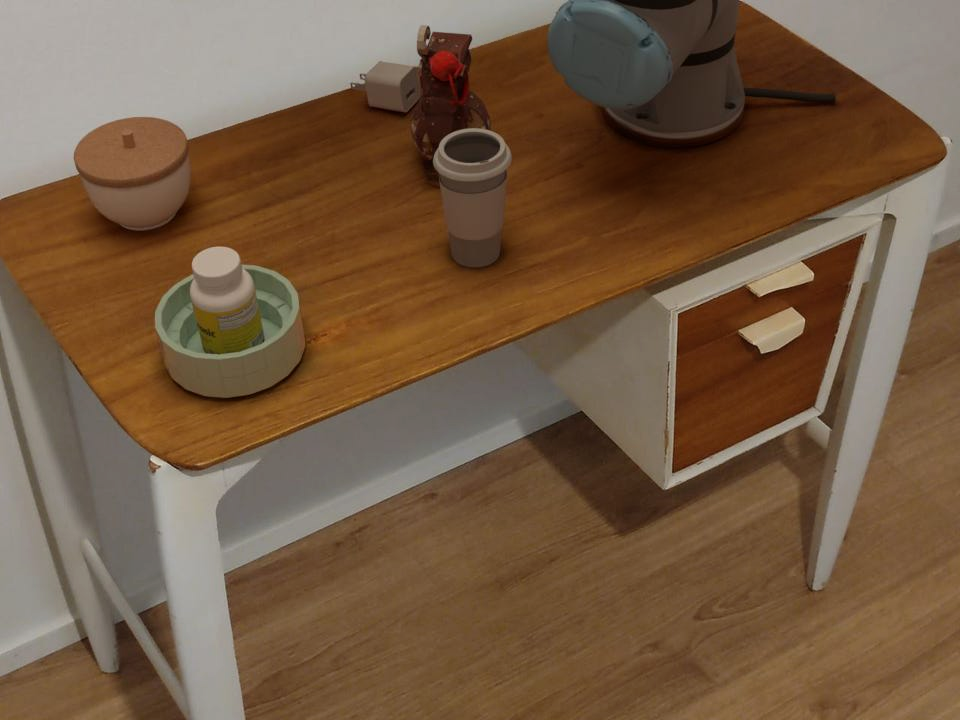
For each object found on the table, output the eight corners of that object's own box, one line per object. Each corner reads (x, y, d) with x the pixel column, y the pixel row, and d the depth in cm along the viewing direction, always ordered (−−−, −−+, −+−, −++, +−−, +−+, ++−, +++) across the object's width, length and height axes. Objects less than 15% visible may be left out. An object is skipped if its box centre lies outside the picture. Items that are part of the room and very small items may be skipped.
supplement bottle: (196, 337, 115) (176, 250, 108) (255, 320, 116) (239, 233, 110) (212, 376, 111) (192, 288, 105) (273, 357, 113) (257, 270, 106)
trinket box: (177, 251, 125) (158, 170, 118) (73, 239, 127) (49, 158, 120) (216, 186, 132) (200, 106, 126) (117, 175, 134) (97, 97, 128)
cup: (454, 283, 120) (449, 176, 112) (427, 242, 125) (420, 136, 117) (524, 262, 122) (524, 155, 114) (495, 223, 127) (493, 118, 119)
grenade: (479, 194, 130) (475, 61, 120) (401, 185, 132) (390, 54, 121) (498, 141, 137) (496, 11, 127) (423, 134, 138) (415, 5, 128)
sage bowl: (300, 298, 119) (293, 256, 116) (311, 390, 110) (304, 347, 107) (165, 316, 118) (155, 273, 114) (165, 411, 109) (154, 367, 106)
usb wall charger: (416, 63, 140) (421, 96, 143) (361, 55, 143) (367, 88, 146) (398, 81, 138) (404, 114, 140) (343, 73, 141) (349, 105, 143)
